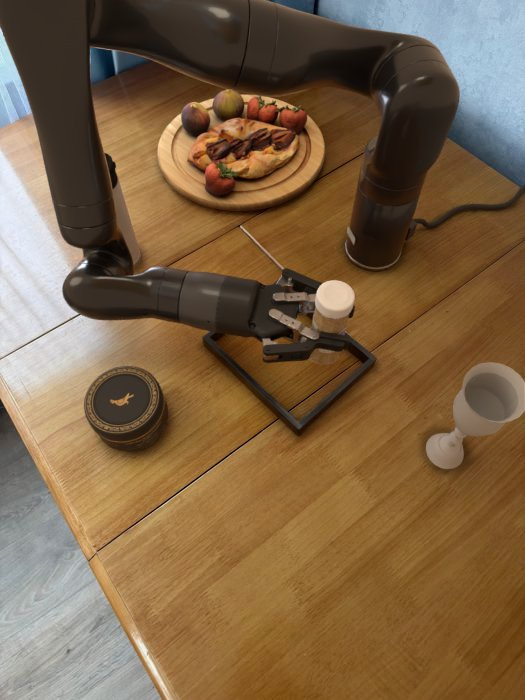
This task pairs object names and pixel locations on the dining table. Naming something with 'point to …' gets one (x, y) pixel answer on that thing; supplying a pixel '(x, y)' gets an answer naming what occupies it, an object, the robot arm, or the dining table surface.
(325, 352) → the sprinkles bottle
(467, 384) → the chalice
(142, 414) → the jar
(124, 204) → the travel mug
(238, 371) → the picture frame
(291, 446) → the dining table surface
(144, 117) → the dining table surface
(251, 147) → the wooden plate
